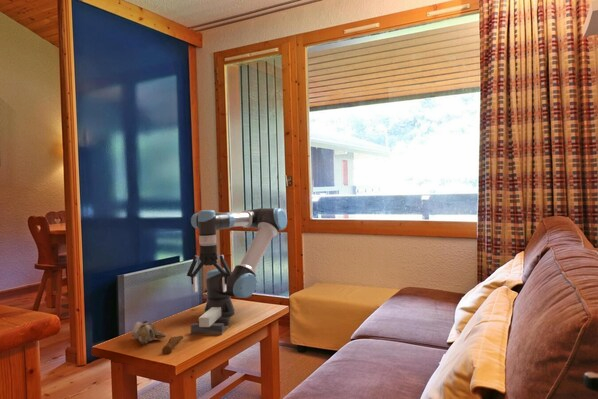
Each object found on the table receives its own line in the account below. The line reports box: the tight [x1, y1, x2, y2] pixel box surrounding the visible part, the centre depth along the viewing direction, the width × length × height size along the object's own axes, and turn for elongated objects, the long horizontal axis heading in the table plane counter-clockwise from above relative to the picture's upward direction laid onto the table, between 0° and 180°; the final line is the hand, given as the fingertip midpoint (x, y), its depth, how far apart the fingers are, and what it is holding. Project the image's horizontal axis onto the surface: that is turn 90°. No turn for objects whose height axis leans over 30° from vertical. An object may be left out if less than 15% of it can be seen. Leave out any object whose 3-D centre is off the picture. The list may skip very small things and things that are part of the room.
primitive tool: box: [161, 335, 184, 355], centre depth 167 cm, size 19×6×4 cm, turn 7°
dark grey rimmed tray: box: [190, 316, 231, 336], centre depth 184 cm, size 12×14×4 cm
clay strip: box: [198, 307, 221, 327], centre depth 184 cm, size 16×4×4 cm, turn 172°
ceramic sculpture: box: [131, 320, 167, 345], centre depth 173 cm, size 11×9×15 cm
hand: (210, 291), depth 184 cm, fingers open, 13 cm apart
